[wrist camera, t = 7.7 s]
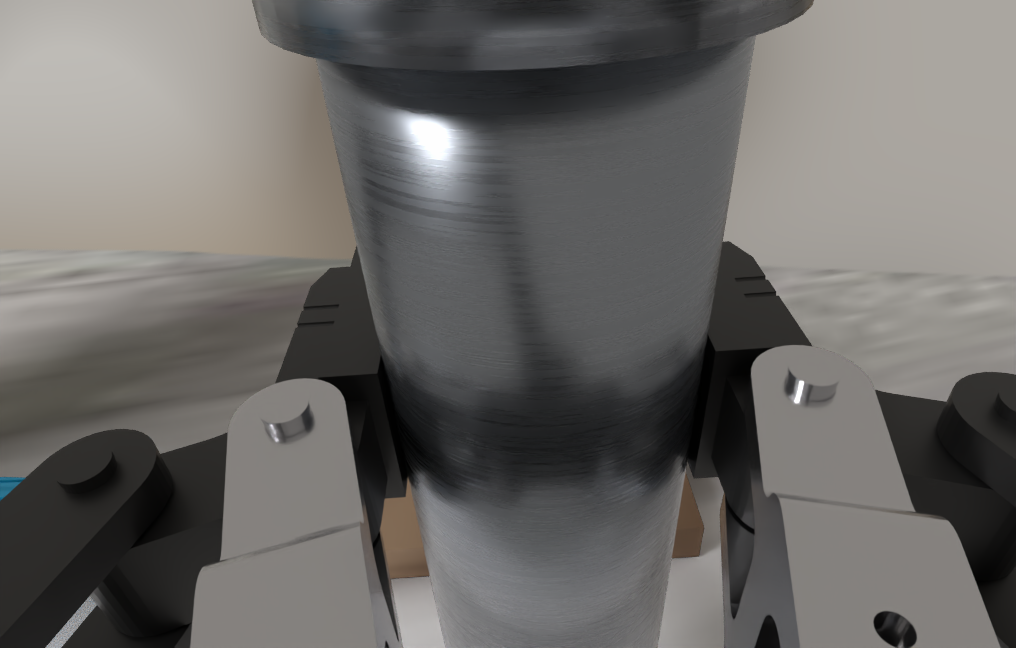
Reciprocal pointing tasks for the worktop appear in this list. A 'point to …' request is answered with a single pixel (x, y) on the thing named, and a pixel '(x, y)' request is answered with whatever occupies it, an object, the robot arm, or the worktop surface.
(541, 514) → the pin
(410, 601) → the worktop surface
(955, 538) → the robot arm
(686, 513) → the stand
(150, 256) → the worktop surface
